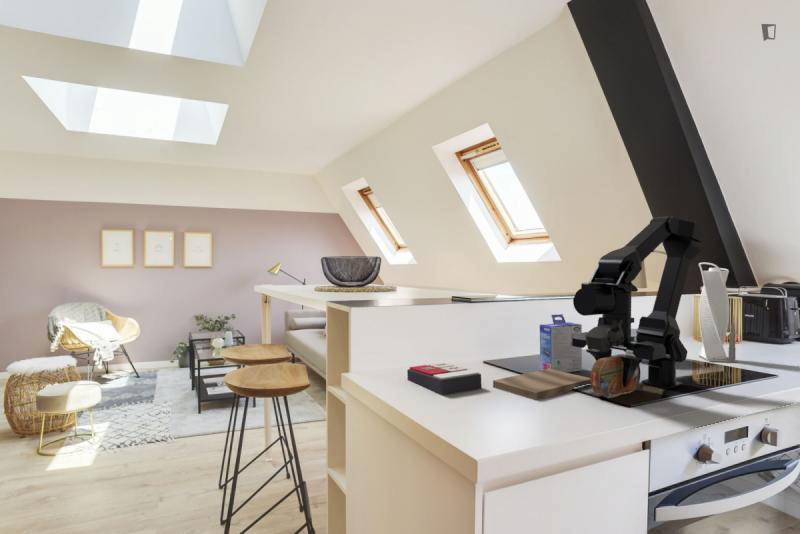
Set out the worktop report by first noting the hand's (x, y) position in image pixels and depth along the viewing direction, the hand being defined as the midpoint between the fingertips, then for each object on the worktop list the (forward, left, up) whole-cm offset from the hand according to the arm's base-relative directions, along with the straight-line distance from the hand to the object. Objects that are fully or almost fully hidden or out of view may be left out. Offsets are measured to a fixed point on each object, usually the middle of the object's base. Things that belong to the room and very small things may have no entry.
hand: (615, 384), depth 106 cm
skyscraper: (-56, -3, -2) cm, 56 cm away
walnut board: (+8, -13, -2) cm, 15 cm away
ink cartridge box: (-8, -20, -2) cm, 22 cm away
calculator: (+26, -28, -3) cm, 38 cm away
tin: (0, 0, -2) cm, 2 cm away
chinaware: (-39, -15, -2) cm, 42 cm away
